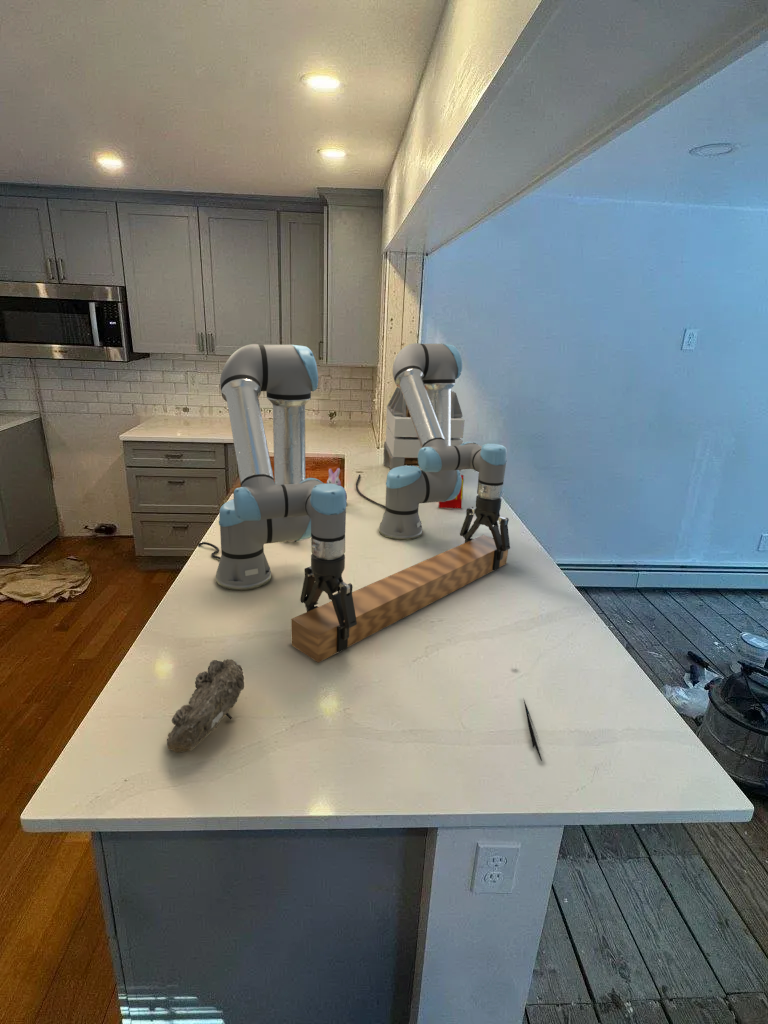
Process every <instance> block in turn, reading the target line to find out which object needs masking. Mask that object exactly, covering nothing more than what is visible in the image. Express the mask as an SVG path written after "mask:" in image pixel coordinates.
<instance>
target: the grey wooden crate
mask: <svg viewBox="0 0 768 1024" xmlns="http://www.w3.org/2000/svg"><path fill="white" fill-rule="evenodd" d="M385 414H386V415H385V423H386V428H385V438H384V442H383V466H384V467H388V468H389V471H390V470H391V469H393V468H396V467H399V466H417V467H419V464H418V453H419V450H420V449H421V448H422V447H421V444H420V441H419V439H418V436H417V433H416V430H415V428H414V425H413V422H412V419H411V416H410V414H409V411H408V408H407V405H406V402H405V400H404V397H403V394H402V391H401V389H400V388H398V387H397V386H396V388H395V390H394V392H393V394H392V395H391V398H390V400H389V402H388V404H387V405H386V413H385ZM464 429H465V419H464V418H463V411H462V408H461V405H460V402H459V398H458V395H457V392H455V391H453V390H451V446H458V445H461V444H463V443H464V441H463V440H462V439H463V438H464V431H465V430H464ZM459 471H460V475H462V474H461V472H462V470H459Z"/></svg>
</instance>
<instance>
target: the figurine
mask: <svg viewBox="0 0 768 1024" xmlns="http://www.w3.org/2000/svg"><path fill="white" fill-rule="evenodd" d="M340 473H341V469H340V467H337V468H336V470H335V471H333V469H332V468H329V469H328V479H327V480H326V484H327V483H328V484H337V485H339V486H342V482H341V480H340V478H339V476H340ZM345 492H346V501H347V499H348V495H347V491H346V490H345Z"/></svg>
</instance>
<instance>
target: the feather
mask: <svg viewBox="0 0 768 1024" xmlns="http://www.w3.org/2000/svg"><path fill="white" fill-rule="evenodd" d="M514 670H517V669H516V668H514ZM523 704H524V709H525V715H526V719H527V725H528V730H529V735H530V739H531V745H532V748H535V750H536V752H537V754H538V757H539V759H540V761H541V762H542V761H543V760H542V759H543V758H542V756H541V753H540V751H541V752H543V749H539V745H538V744H539V742H540V741H539V736H538V735H537V734H538V733H537V730H536V728H535V724H534V722H533V720H532V717H531V714H530V712H529V709H528V706H527V704H526V701H525V699H524V697H523ZM537 741H538V743H537ZM533 752H534V749H533Z"/></svg>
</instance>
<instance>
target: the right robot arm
mask: <svg viewBox="0 0 768 1024" xmlns="http://www.w3.org/2000/svg"><path fill="white" fill-rule="evenodd" d="M462 371H463V358H462V355H461V352H460V350H459V349H458V348H457V347H456V346H455V345H453V344H449V343H448V344H447V343H420V342H419V343H418V342H413V343H409V344H408V345H405V346H404V347H402V348H401V349H400V350H399V352H398V353H397V354H396V355H395V359H394V361H393V364H392V376H393V377H392V378H393V381H394V383H395V387H396V388H397V387H398V388H400V389H401V391H402V394H403V397H404V400H405V402H406V405H407V408H408V411H409V414H410V416H411V419H412V422H413V425H414V428H415V430H416V433H417V436H418V439H419V441H420V444H421V447H422V448H421V449H420V450H419V453H418V464H419V466H407V465H404V466H399V467H396V468H393V469H391V470H390V469H389V470H388V472H387V475H386V480H385V504H381V503H379V502H378V501H375V500H373V499H371V498H369V497H368V496H366V495H364V494H363V493H362V492H361V491H360V490H359V487H358V486H359V485H358V484H359V482H360V478H361V474H358V476H357V479H356V483H355V489H356V491H357V493H358V494H359V495H360V496H361V497H362V498H364V499H365V500H367V501H369V502H371V503H374V504H375V505H377V506H380V507H382V508H384V513H383V515H382V519H381V522H379V527H378V533H379V534H380V535H381V536H382V537H385V538H387V539H389V540H395V541H410V540H415V539H418V538H420V537H421V536H422V535H423V525H422V524H423V523H422V520H421V518H420V515H419V507H420V506H419V505H420V504H429V503H439V502H445V501H449V500H453V499H455V498H456V497H457V495H458V494H459V492H460V489H461V484H462V479H461V475H462V474H460V471H459V470H461V471H464V470H465V471H466V470H473V471H475V472H478V476H477V477H478V479H477V487H476V488H477V489H476V494H477V495H476V497H475V508H474V506H470V507H468V508H466V509H465V510H466V512H465V517H464V520H463V523H462V526H461V528H460V531H459V536H460V537H463V538H464V543H466V542H468V541H470V540H473V539H474V537H473V536H474V535H475V533H476V531H477V530H478V529H479V528H480V526H485V527H487V528H488V530H489V531H490V532H491V536H492V538H493V539H494V542H495V545H496V548H497V549H496V550H495V551H494V559H493V568H492V570H493V571H496V570H498V569H500V567H499V565H500V560H502V559H503V551H506V550H508V551H509V550H510V549H511V542H510V533H509V526H508V525H509V522H510V521H509V520H510V519H509V517H504V516H501V514H500V511H501V508H502V500H503V499H502V496H503V491H504V483H505V482H504V481H505V474H506V466H507V461H508V460H507V459H508V458H507V453H508V449H507V447H506V446H504V445H503V444H498V443H484V444H483V445H480V444H478V443H476V442H472V441H465V442H463V443H462V444H461V445H458V446H451V391H452V389H453V387H454V386H455V385H456V380H457V379H459V378H460V377H461V374H462ZM474 516H475V517H476V518H475V520H474V521H473V518H474ZM472 521H473V523H472Z"/></svg>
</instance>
